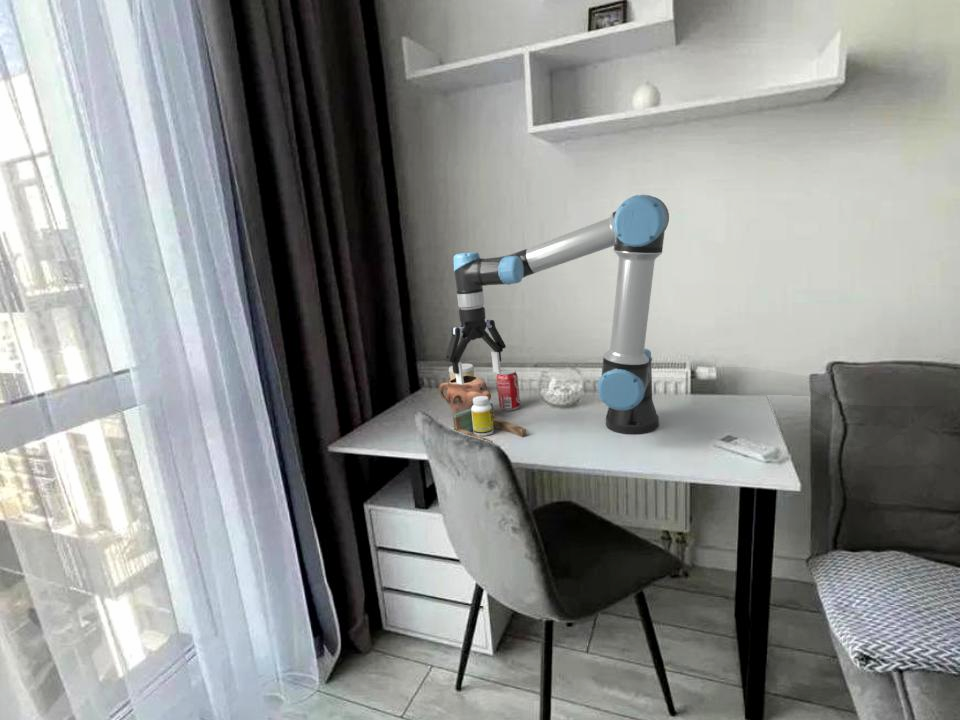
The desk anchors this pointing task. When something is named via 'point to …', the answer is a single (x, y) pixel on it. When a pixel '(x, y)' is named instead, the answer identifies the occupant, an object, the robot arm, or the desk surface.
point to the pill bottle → (482, 416)
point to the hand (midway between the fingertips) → (479, 378)
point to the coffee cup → (467, 371)
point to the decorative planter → (463, 392)
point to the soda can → (508, 390)
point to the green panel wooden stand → (465, 424)
